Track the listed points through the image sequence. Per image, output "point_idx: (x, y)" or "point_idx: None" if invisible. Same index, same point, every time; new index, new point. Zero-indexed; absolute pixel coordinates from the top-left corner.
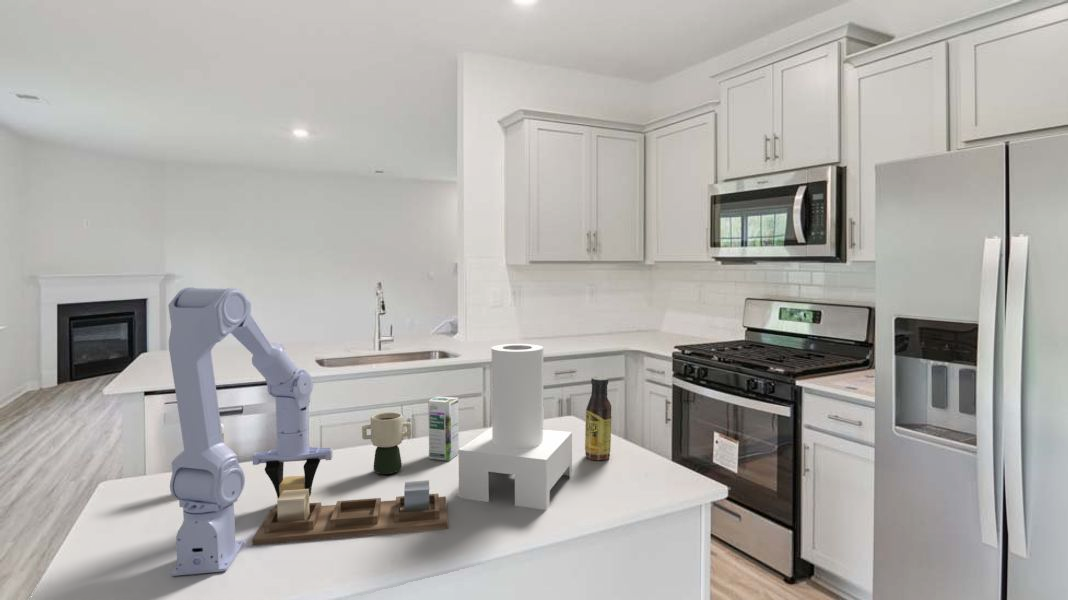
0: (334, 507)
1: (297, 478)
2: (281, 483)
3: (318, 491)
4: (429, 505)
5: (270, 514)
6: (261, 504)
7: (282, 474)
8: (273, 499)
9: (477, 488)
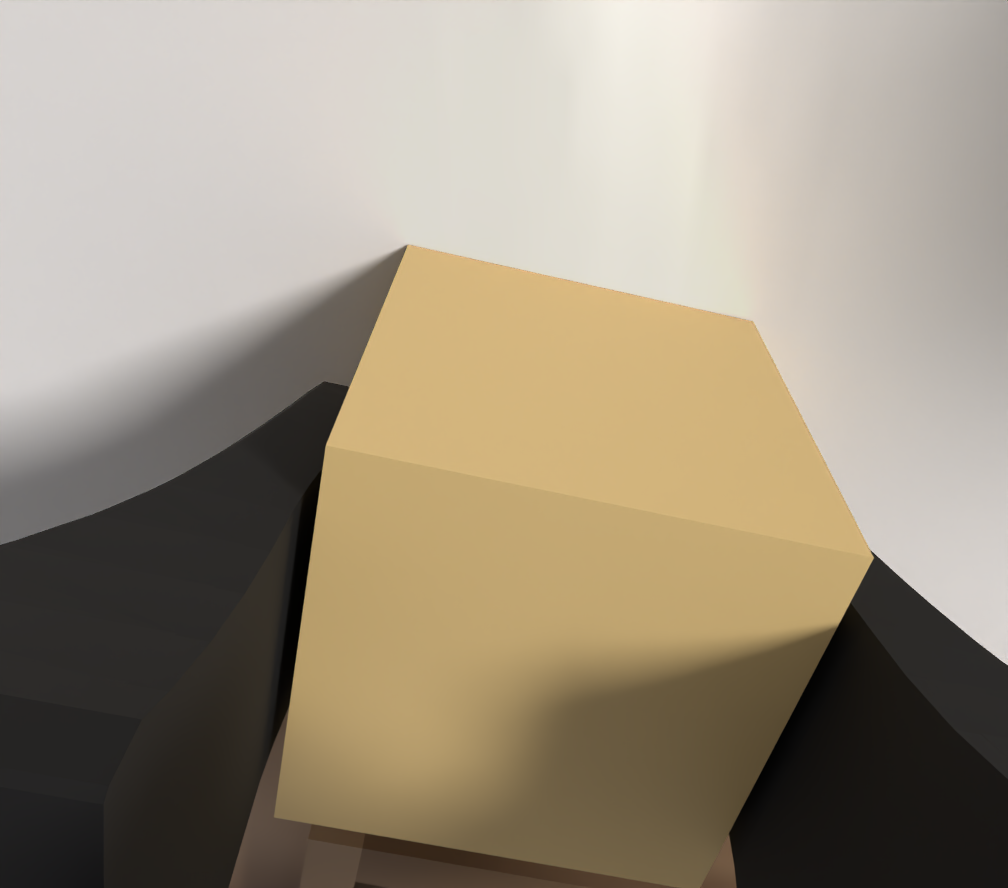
0: None
1: (613, 643)
2: (302, 761)
3: (978, 15)
4: None
5: (268, 759)
6: (56, 225)
7: (262, 613)
8: (203, 81)
9: None
